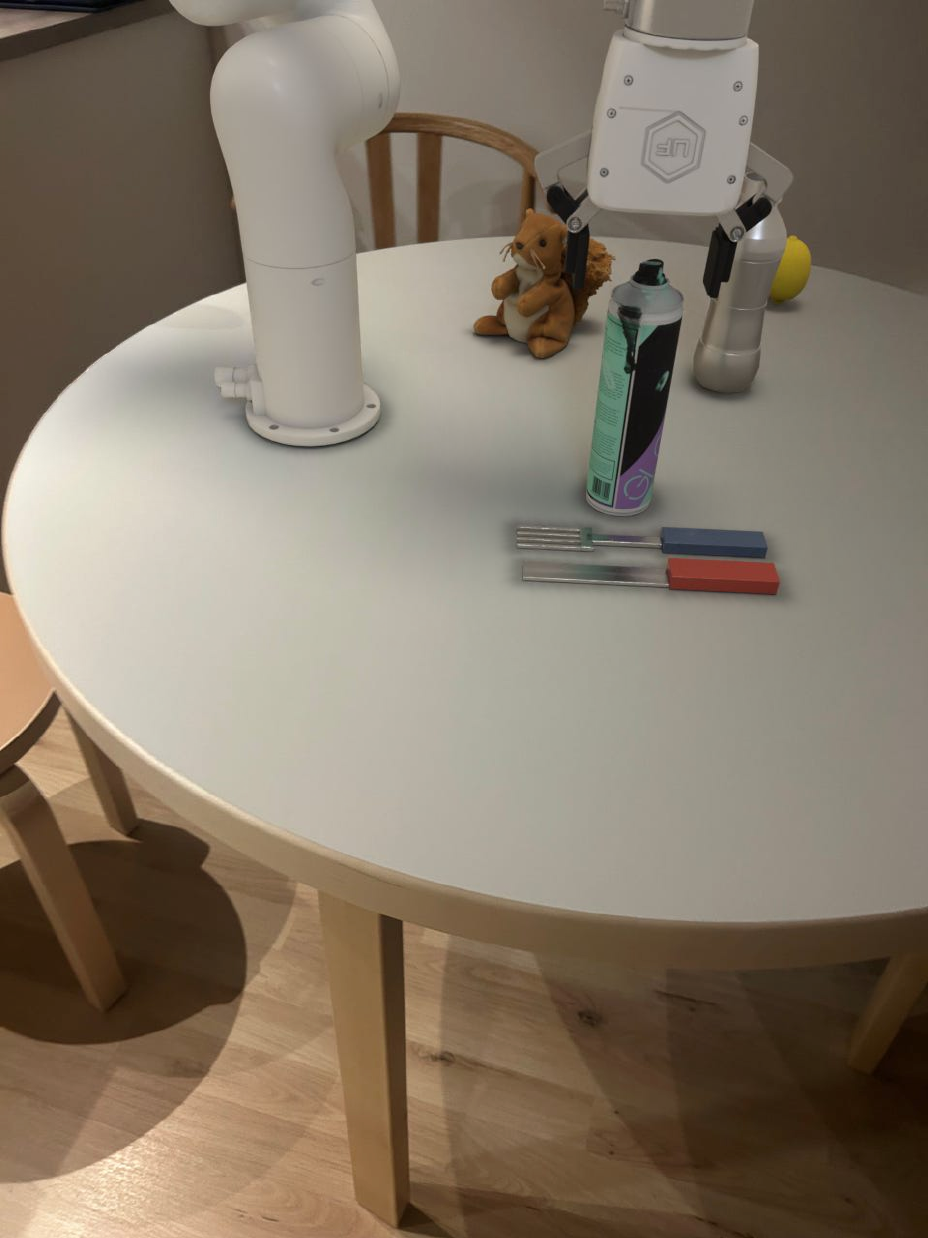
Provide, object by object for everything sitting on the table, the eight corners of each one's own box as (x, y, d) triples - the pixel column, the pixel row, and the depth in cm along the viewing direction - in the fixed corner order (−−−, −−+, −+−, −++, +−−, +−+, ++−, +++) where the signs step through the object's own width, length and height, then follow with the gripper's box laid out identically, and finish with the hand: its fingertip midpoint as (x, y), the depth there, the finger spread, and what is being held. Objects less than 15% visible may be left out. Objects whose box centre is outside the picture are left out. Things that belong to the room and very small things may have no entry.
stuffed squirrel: (466, 334, 106) (469, 210, 97) (556, 303, 113) (566, 185, 104) (529, 365, 100) (538, 237, 92) (619, 331, 107) (635, 208, 99)
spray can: (648, 520, 79) (690, 278, 66) (582, 511, 79) (610, 271, 67) (652, 485, 83) (692, 251, 70) (588, 477, 84) (617, 244, 71)
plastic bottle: (707, 403, 94) (750, 190, 82) (677, 373, 99) (714, 168, 86) (765, 396, 96) (817, 186, 83) (733, 367, 101) (777, 164, 88)
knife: (522, 581, 72) (523, 569, 71) (523, 562, 74) (523, 550, 73) (776, 594, 72) (780, 581, 71) (770, 575, 73) (774, 562, 73)
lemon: (745, 297, 115) (759, 229, 110) (785, 293, 117) (801, 225, 112) (769, 315, 111) (785, 246, 106) (810, 310, 113) (828, 242, 108)
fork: (516, 548, 75) (517, 537, 75) (517, 527, 78) (517, 517, 77) (766, 560, 75) (768, 549, 74) (759, 539, 77) (762, 529, 76)
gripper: (547, 14, 56) (524, 300, 67) (845, 30, 56) (772, 315, 67) (546, -6, 61) (525, 261, 73) (816, 8, 61) (753, 274, 72)
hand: (643, 286), depth 70 cm, fingers open, 9 cm apart
